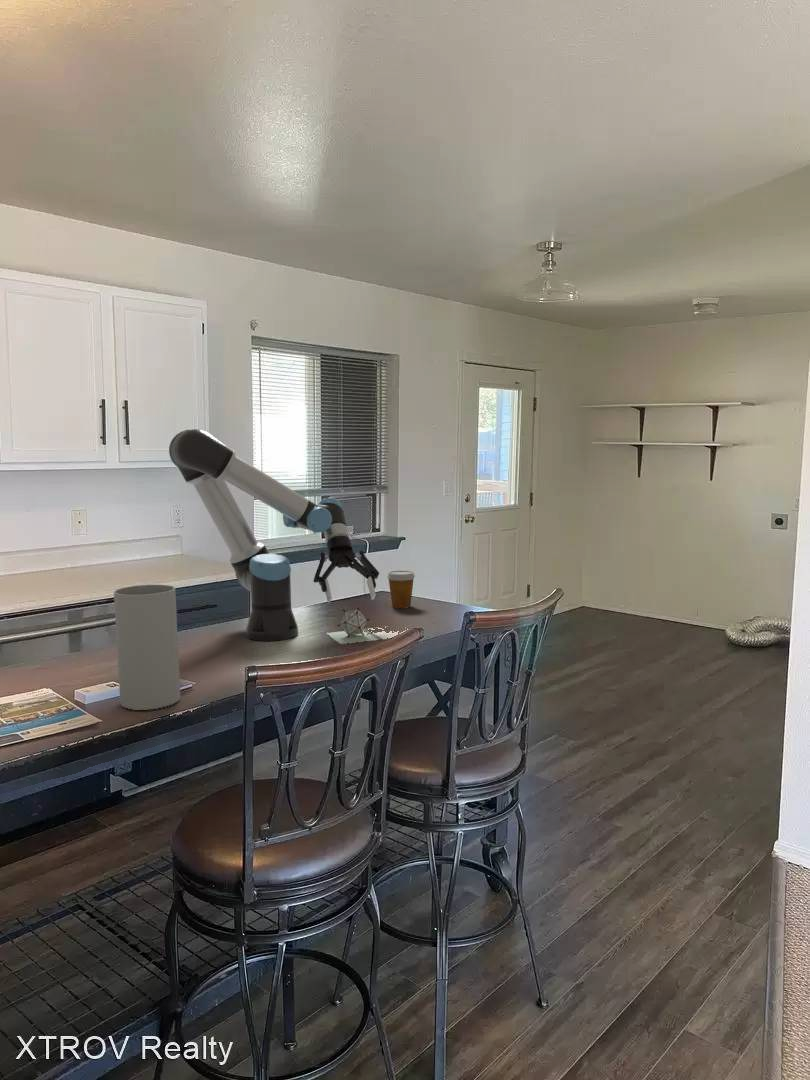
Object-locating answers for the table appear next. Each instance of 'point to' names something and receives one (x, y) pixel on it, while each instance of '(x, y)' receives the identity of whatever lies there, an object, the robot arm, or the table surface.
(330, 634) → the game board
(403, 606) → the disposable coffee cup
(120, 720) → the table surface
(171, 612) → the cylinder vase
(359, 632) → the game die
